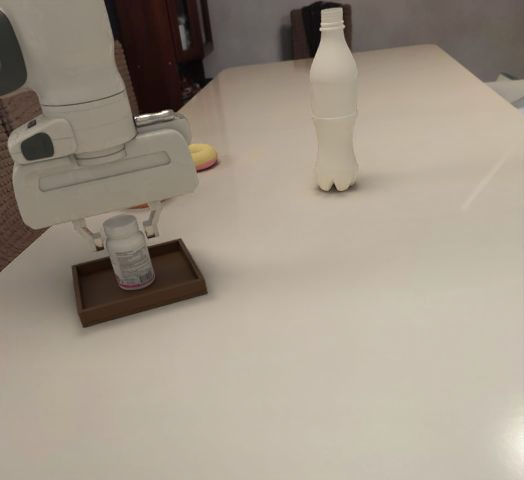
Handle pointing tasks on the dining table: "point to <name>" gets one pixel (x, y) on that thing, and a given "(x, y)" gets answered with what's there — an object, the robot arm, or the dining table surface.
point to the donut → (203, 155)
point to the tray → (132, 301)
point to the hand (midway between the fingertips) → (126, 242)
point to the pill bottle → (128, 252)
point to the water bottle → (334, 104)
